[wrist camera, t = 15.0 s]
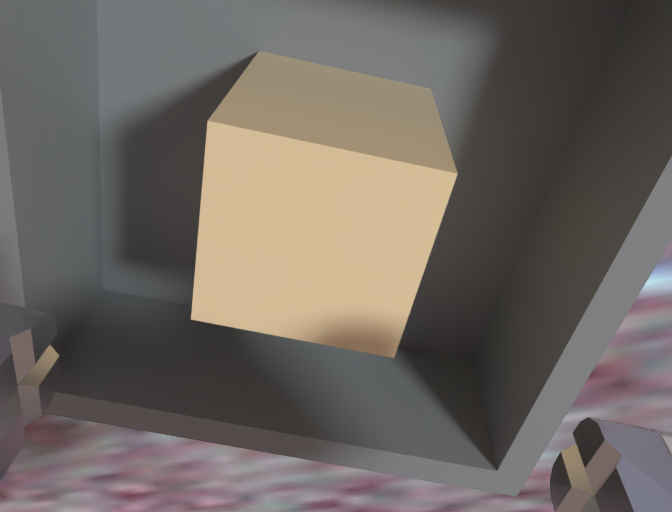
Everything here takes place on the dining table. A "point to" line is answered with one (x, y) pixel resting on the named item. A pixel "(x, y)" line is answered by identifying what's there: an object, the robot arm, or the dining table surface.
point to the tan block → (319, 204)
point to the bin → (444, 260)
